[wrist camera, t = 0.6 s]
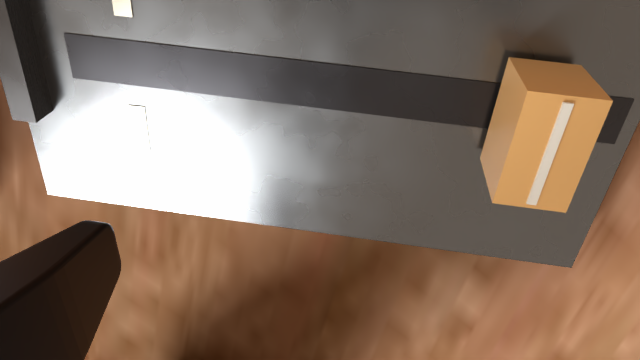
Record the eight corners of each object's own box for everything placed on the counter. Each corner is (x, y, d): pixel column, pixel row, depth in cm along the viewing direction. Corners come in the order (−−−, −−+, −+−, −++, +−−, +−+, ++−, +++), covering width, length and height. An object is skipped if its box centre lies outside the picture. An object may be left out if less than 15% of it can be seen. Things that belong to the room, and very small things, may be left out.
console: (559, 238, 24) (579, 287, 21) (70, 172, 25) (32, 209, 23) (704, -102, 16) (766, -95, 13) (-8, -164, 18) (-80, -169, 15)
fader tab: (543, 166, 19) (566, 214, 16) (479, 158, 19) (492, 204, 17) (581, 65, 17) (614, 102, 14) (508, 57, 17) (528, 92, 14)
